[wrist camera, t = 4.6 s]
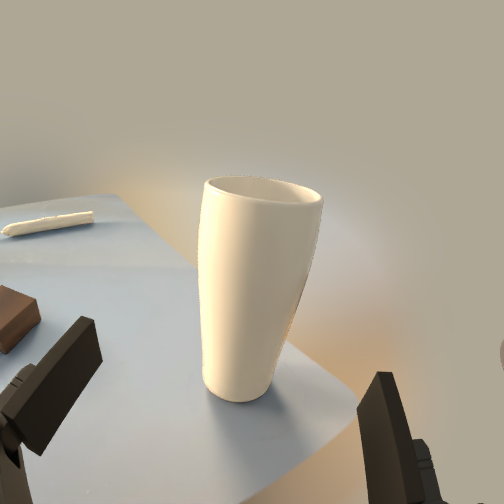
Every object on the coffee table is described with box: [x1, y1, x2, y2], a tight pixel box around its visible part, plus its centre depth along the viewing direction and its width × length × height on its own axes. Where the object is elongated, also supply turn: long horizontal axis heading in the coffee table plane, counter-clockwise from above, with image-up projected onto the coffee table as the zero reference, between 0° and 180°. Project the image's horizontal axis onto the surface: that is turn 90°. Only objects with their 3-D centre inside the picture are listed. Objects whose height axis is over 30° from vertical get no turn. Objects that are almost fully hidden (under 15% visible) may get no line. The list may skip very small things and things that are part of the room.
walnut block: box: [0, 285, 41, 354], centre depth 21 cm, size 6×6×2 cm
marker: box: [1, 212, 94, 236], centre depth 43 cm, size 18×2×2 cm, turn 129°
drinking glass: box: [198, 175, 323, 402], centre depth 19 cm, size 7×7×15 cm
